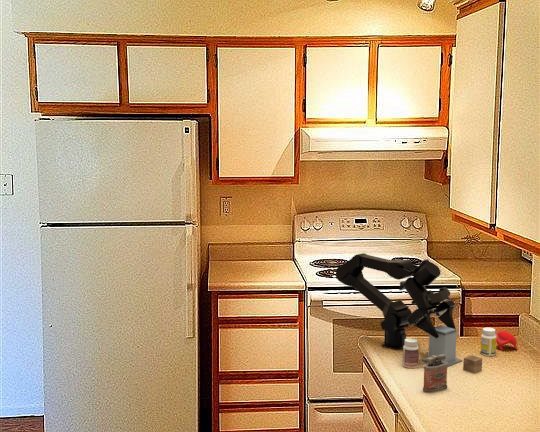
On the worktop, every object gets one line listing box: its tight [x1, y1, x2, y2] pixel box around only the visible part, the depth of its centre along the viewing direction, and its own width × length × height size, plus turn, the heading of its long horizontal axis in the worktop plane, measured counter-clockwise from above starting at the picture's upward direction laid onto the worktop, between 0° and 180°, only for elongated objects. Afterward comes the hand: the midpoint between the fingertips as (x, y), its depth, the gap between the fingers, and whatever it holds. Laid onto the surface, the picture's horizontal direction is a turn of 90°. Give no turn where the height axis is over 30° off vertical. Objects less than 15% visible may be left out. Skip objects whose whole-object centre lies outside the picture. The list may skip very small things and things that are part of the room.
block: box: [462, 354, 483, 374], centre depth 216 cm, size 4×4×4 cm
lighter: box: [422, 354, 448, 394], centre depth 201 cm, size 8×3×10 cm, turn 117°
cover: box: [428, 324, 458, 362], centre depth 223 cm, size 6×6×10 cm
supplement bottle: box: [480, 327, 497, 357], centre depth 230 cm, size 5×5×8 cm
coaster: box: [421, 355, 463, 368], centre depth 224 cm, size 9×9×1 cm
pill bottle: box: [402, 337, 420, 369], centre depth 219 cm, size 5×5×8 cm
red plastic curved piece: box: [495, 330, 518, 351], centre depth 235 cm, size 8×6×6 cm
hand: (446, 334), depth 222 cm, fingers open, 9 cm apart
